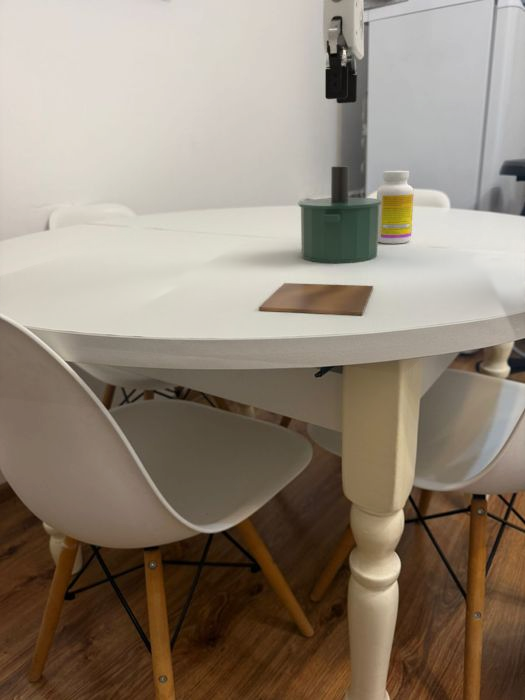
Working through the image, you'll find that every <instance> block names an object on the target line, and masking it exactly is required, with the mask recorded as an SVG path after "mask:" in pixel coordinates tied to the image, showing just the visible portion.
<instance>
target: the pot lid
mask: <svg viewBox="0 0 525 700" xmlns="http://www.w3.org/2000/svg"><path fill="white" fill-rule="evenodd" d="M330 168H331V170H330V171H331V173H330V176H331V179H330V180H331V181H330V183H331V184H330V197H327V198H325V197H324V198H315V199H306V200H302V201H299V202H298V207H299V208H301V207H302V208H309V209H353V208H366V207H373V206H378V205H381V204H382V201H381V200H379V199H377V198H373V197H349V186H350V185H349V183H350V182H349V181H350V179H349V178H350V177H349V174H350V166H349V165H336V166H335V165H334V166H331V167H330Z"/></svg>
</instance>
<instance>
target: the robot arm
mask: <svg viewBox="0 0 525 700" xmlns="http://www.w3.org/2000/svg"><path fill="white" fill-rule="evenodd" d="M322 1H323V6H322V7H323V9H322V13H323V14H322V36H323V37H322V41H323V52H324V53H325V55H326V59H325V70H324V71H325V76H324V77H325V79H324V81H325V83H324V85H325V88H324V89H325V90H324V92H325V99H326V100H336V103H337V104H350V103H356V102H357V96H358V95H357V93H358V74H357V62H356V61H357V60H356V59H358V60H362V59H363V58H364V57H365V13H364V12H365V11H364V10H365V9H364V7H365V6H364V4H365V3H364V0H322Z"/></svg>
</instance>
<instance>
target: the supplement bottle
mask: <svg viewBox="0 0 525 700" xmlns="http://www.w3.org/2000/svg"><path fill="white" fill-rule="evenodd" d="M409 178H410V171H409V170H386V171H383V172H382V180H383V184H382V185H381V186H379V187H378V189H377V190H376V199H379V200H381V201H382V204H381V205H379V217H378V243H381V244H386V245H387V244H388V245H390V244H391V245H392V244H393V245H394V244H396V245H397V244H405V243H409V242H411V240H412V227H413V209H414V206H413V205H414V188H413V187H412V186H411V185H410V184H408V181H409Z"/></svg>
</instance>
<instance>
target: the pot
mask: <svg viewBox="0 0 525 700" xmlns="http://www.w3.org/2000/svg"><path fill="white" fill-rule="evenodd" d="M378 217H379V205H378V206H373V207H366V208H353V209H309V208H302V207H300V232H301V233H300V239H301V243H300V244H301V245H300V246H301V257H302V258H303V259H304V260H307V261H310V262H316V263H322V262H325V263H326V264H349V263H350V262H352V263H359V261H361V262H365V261H370V260H373V259H375V258H376V257H377V255H378V243H379V242H378ZM374 257H375V258H374ZM372 258H373V259H372ZM369 259H370V260H369Z"/></svg>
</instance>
